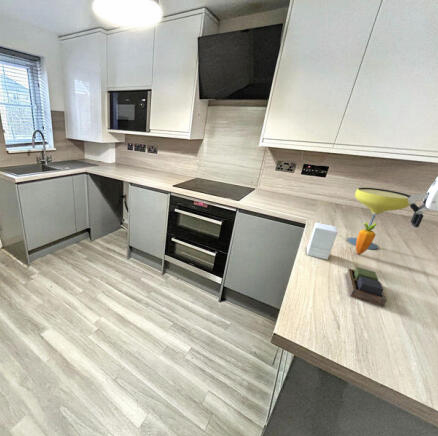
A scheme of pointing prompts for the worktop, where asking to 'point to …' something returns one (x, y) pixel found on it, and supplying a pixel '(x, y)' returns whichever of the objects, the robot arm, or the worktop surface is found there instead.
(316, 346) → the worktop surface
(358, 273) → the olive green block
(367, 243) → the carrot
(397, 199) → the cocktail glass
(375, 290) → the dark grey block
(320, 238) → the white packaging box
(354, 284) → the brown divided tray
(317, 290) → the worktop surface
